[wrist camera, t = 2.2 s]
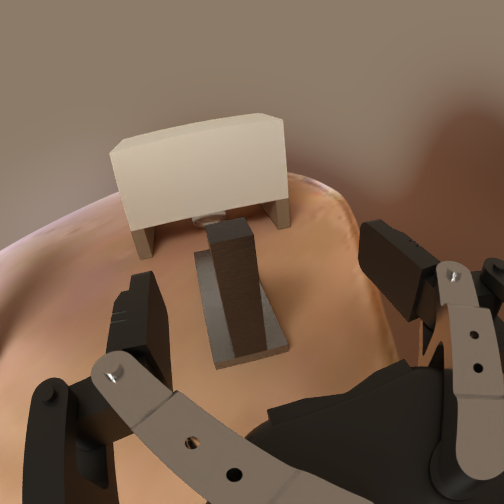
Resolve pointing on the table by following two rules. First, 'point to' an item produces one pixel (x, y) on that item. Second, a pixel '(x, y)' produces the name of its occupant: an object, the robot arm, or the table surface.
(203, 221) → the steel token
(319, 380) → the table surface
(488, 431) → the robot arm
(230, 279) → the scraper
